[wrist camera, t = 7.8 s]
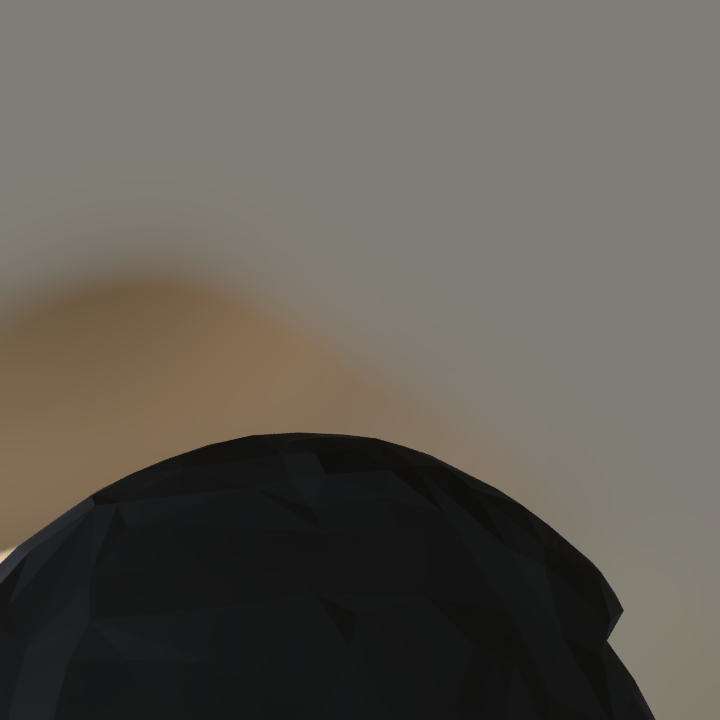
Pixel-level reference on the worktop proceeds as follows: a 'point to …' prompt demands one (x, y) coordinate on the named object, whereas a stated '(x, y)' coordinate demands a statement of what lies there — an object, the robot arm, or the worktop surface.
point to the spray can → (307, 596)
